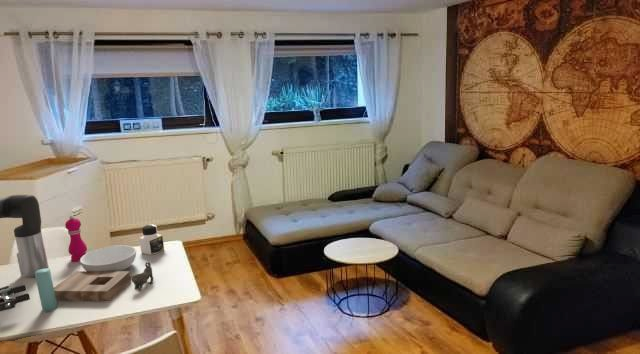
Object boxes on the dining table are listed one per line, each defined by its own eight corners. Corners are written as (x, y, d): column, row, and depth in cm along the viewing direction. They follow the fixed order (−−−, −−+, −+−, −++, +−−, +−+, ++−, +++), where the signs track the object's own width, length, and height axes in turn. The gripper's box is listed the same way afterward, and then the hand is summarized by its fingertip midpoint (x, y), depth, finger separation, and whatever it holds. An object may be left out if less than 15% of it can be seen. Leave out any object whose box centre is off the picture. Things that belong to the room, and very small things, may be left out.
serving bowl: (125, 280, 184) (123, 264, 182) (72, 282, 184) (69, 266, 183) (145, 258, 204) (143, 243, 202) (98, 260, 205) (95, 245, 203)
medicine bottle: (151, 255, 207) (147, 229, 204) (141, 252, 210) (137, 227, 207) (164, 249, 212) (161, 224, 210) (154, 247, 216) (150, 222, 213)
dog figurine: (144, 278, 184) (141, 261, 183) (158, 279, 183) (155, 261, 182) (127, 293, 173) (124, 274, 171) (141, 293, 172) (138, 274, 170)
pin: (39, 311, 163) (31, 274, 160) (48, 304, 167) (40, 268, 164) (51, 311, 162) (44, 274, 159) (60, 305, 167) (52, 268, 163)
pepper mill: (70, 263, 203) (61, 219, 198) (70, 257, 209) (61, 214, 204) (88, 259, 206) (81, 216, 201) (88, 254, 212) (80, 211, 207)
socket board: (51, 301, 170) (49, 290, 169) (78, 280, 185) (76, 271, 184) (109, 301, 167) (107, 291, 166) (131, 280, 183) (129, 271, 182)
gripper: (-33, 306, 144) (28, 288, 153) (-35, 290, 155) (22, 274, 164) (-28, 328, 146) (33, 309, 155) (-30, 310, 156) (26, 294, 166)
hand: (27, 291), depth 160 cm, fingers open, 8 cm apart
